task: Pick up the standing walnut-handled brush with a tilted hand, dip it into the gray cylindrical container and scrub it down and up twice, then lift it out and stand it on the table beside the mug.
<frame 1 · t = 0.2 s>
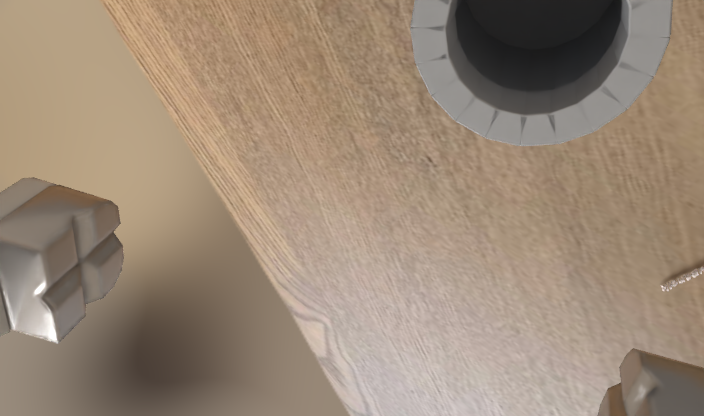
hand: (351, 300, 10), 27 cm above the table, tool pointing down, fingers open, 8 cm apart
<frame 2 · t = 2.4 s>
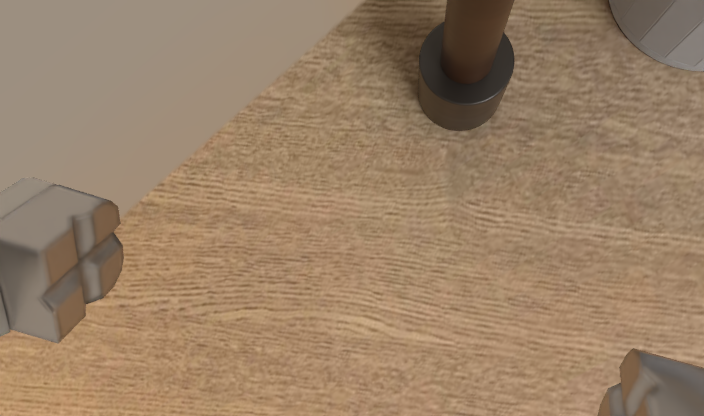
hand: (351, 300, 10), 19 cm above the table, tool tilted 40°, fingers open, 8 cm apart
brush: (459, 91, 30), on the table
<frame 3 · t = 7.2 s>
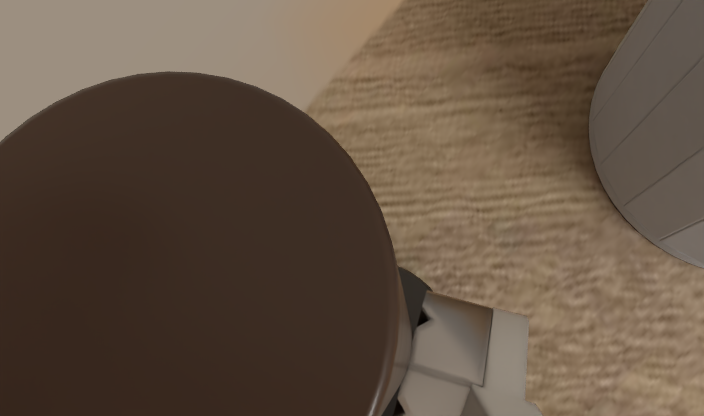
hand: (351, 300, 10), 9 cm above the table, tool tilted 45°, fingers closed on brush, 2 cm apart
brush: (378, 347, 18), on the table, touching gripper
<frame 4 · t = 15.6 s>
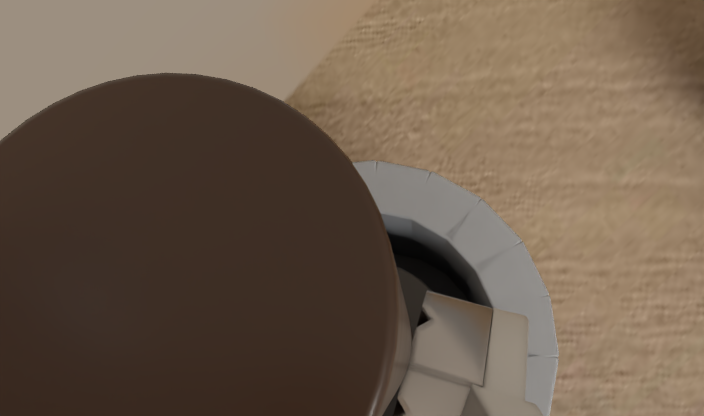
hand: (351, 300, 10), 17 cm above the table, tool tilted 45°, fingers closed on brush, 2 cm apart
gray cylindrical container: (387, 346, 26), on the table
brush: (378, 347, 18), point 8 cm above the table, touching gripper
when the fingers open (9 cm above the table, at t = 24.3 s): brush stays where it is, on the table.
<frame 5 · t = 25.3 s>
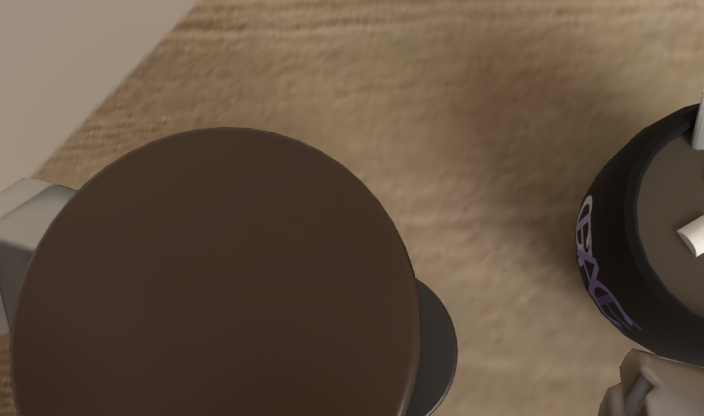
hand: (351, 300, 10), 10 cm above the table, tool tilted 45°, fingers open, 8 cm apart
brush: (383, 350, 19), on the table
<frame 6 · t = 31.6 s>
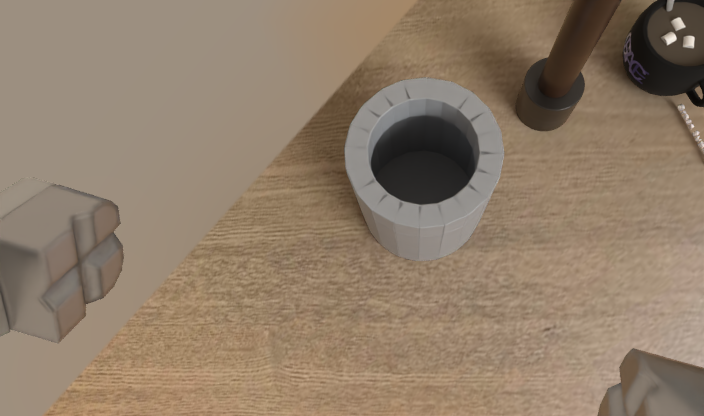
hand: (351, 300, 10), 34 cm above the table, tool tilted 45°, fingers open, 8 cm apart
gray cylindrical container: (421, 203, 45), on the table
mug: (672, 100, 45), on the table
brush: (543, 106, 46), on the table
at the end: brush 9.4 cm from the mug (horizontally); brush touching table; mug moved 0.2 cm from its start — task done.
